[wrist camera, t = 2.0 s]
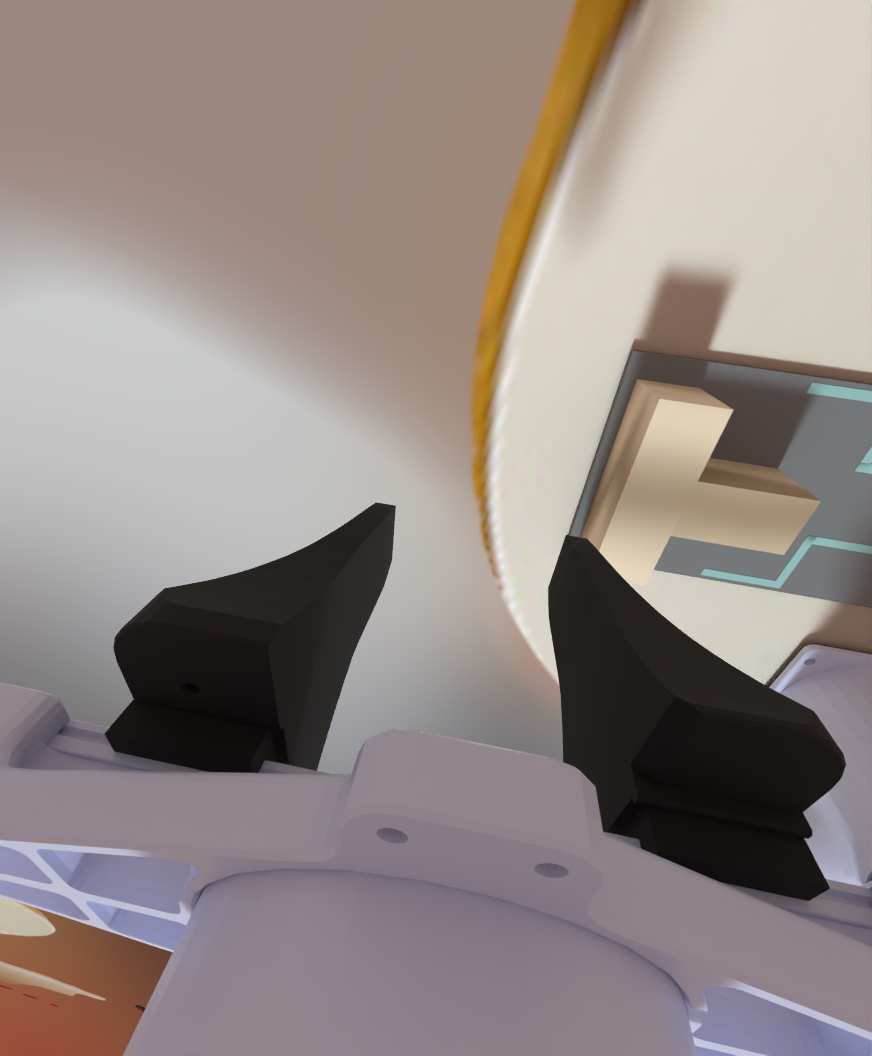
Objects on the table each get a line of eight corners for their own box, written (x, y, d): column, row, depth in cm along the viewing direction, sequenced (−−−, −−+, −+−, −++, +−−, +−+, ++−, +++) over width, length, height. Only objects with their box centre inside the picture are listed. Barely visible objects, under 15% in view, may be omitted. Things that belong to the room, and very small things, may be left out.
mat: (869, 604, 21) (874, 608, 21) (563, 550, 22) (563, 554, 22) (1046, 409, 16) (1055, 411, 16) (632, 349, 17) (633, 351, 17)
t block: (719, 564, 21) (748, 605, 18) (579, 540, 21) (588, 576, 19) (816, 405, 17) (870, 430, 14) (637, 379, 17) (659, 398, 15)
